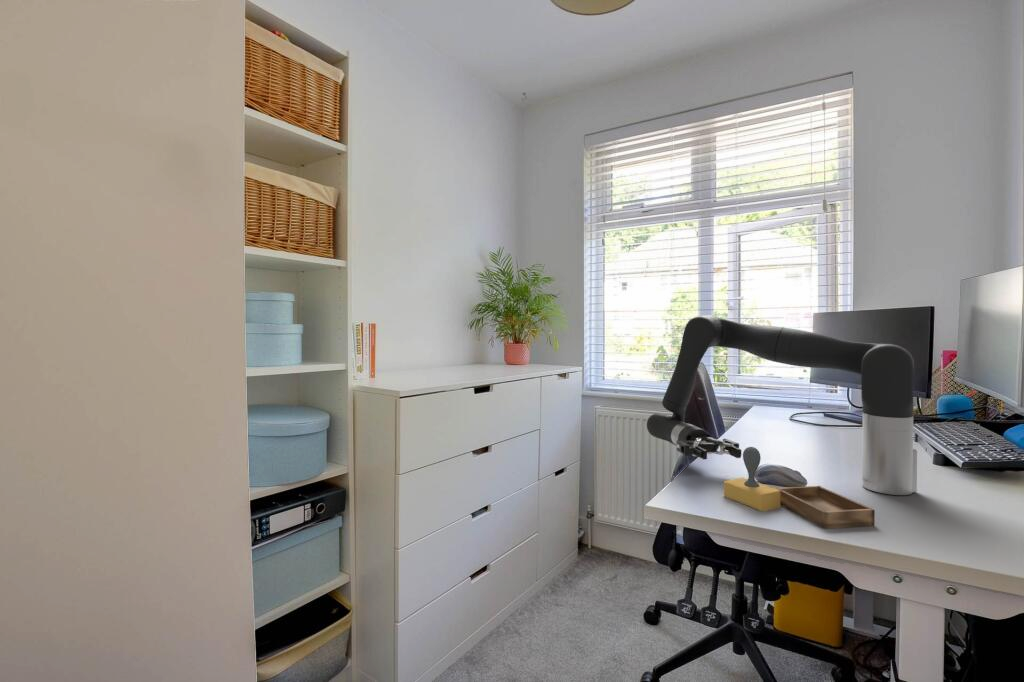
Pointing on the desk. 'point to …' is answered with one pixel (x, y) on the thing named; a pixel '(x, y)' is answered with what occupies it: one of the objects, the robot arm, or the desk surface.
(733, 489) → the rubber stamp
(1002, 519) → the desk surface
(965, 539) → the desk surface
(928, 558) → the desk surface
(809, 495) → the tray
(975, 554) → the desk surface
